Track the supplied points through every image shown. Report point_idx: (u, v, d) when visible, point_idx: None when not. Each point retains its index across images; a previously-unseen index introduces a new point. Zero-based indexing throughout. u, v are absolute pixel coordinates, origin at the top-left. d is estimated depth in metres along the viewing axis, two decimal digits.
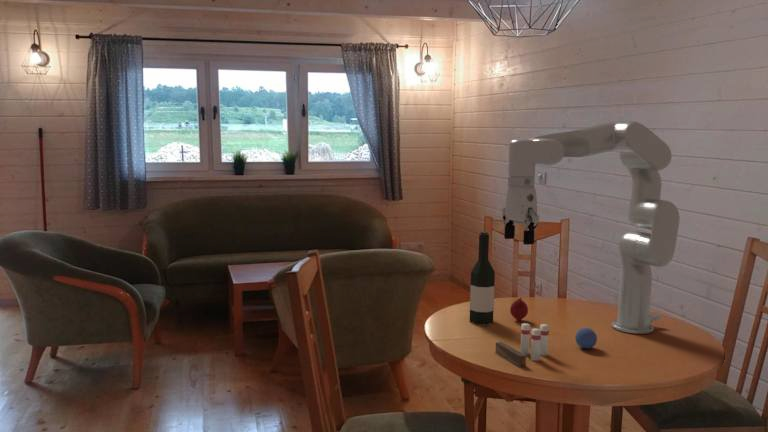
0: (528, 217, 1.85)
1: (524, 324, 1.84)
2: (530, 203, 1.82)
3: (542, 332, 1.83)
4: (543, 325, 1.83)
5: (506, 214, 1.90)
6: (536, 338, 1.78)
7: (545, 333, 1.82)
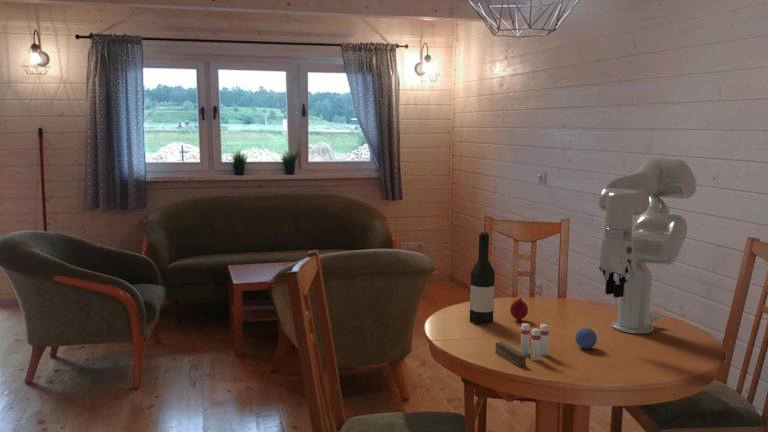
0: None
1: (524, 324, 1.84)
2: (629, 255, 1.85)
3: (542, 332, 1.83)
4: (543, 325, 1.83)
5: (601, 264, 1.93)
6: (536, 338, 1.78)
7: (545, 333, 1.82)
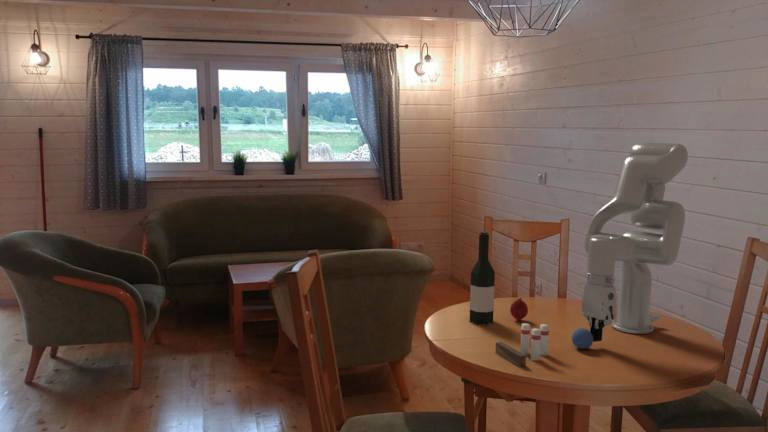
0: None
1: (524, 324, 1.84)
2: (610, 301, 1.85)
3: (542, 332, 1.83)
4: (543, 325, 1.83)
5: (583, 309, 1.92)
6: (536, 338, 1.78)
7: (545, 333, 1.82)
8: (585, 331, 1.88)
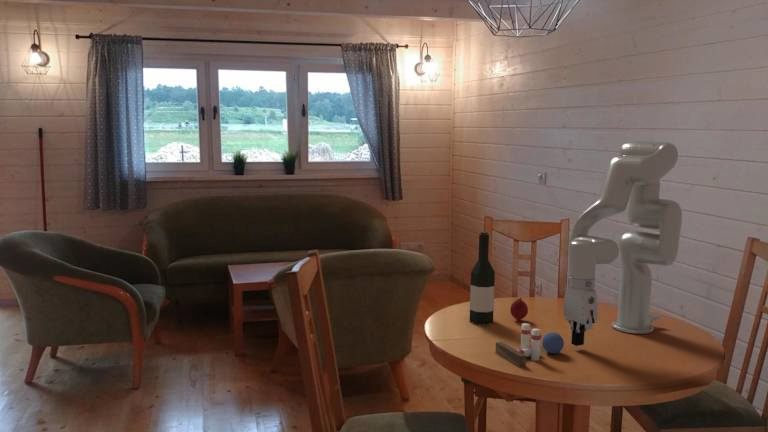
0: None
1: (524, 324, 1.84)
2: (591, 305, 1.83)
3: None
4: None
5: (565, 312, 1.90)
6: (536, 338, 1.78)
7: None
8: None
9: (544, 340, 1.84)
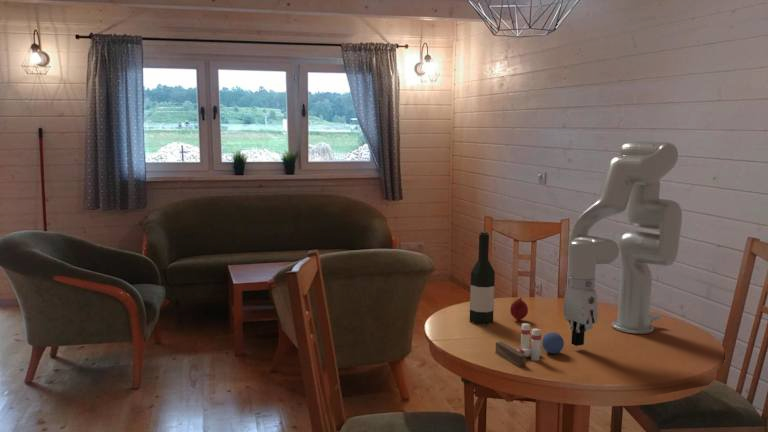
0: None
1: (524, 324, 1.84)
2: (591, 305, 1.83)
3: None
4: None
5: (565, 312, 1.90)
6: (536, 338, 1.78)
7: None
8: None
9: (544, 340, 1.84)
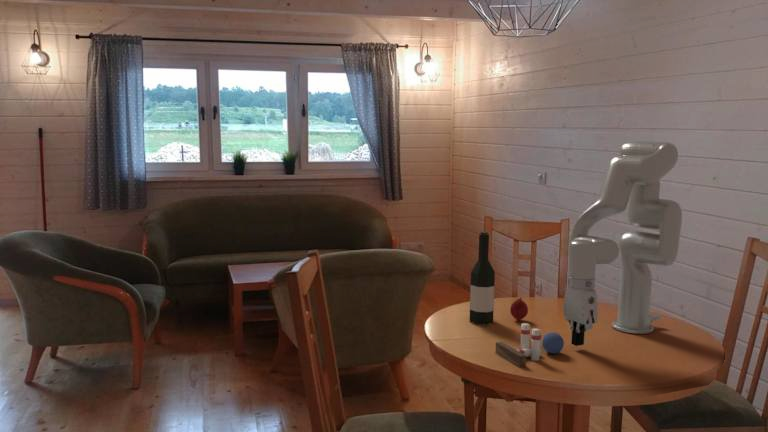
0: None
1: (524, 324, 1.84)
2: (591, 305, 1.83)
3: None
4: None
5: (565, 312, 1.90)
6: (536, 338, 1.78)
7: None
8: None
9: (544, 340, 1.84)
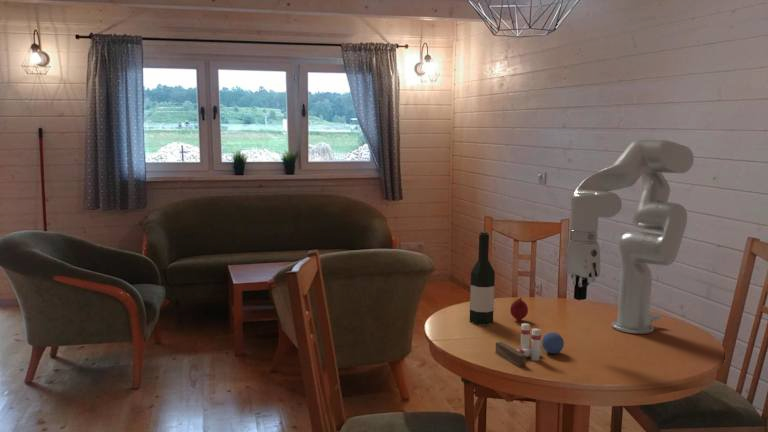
0: None
1: (524, 324, 1.84)
2: (594, 258, 1.81)
3: None
4: None
5: (567, 267, 1.88)
6: (536, 338, 1.78)
7: None
8: None
9: (544, 340, 1.84)
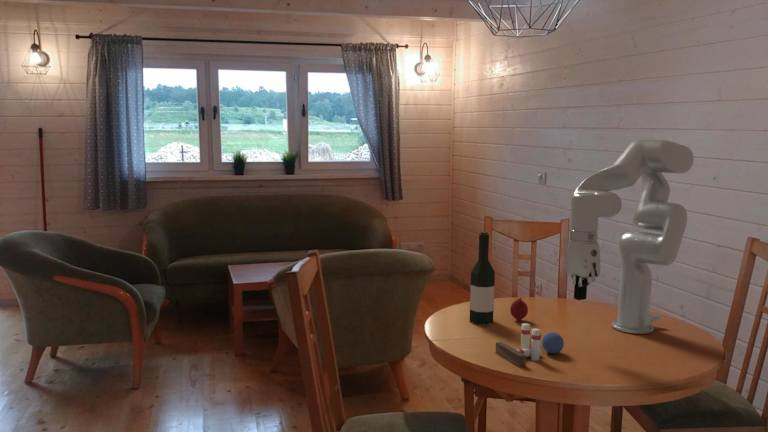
0: None
1: (524, 324, 1.84)
2: (594, 258, 1.81)
3: None
4: None
5: (567, 267, 1.88)
6: (536, 338, 1.78)
7: None
8: None
9: (544, 340, 1.84)
